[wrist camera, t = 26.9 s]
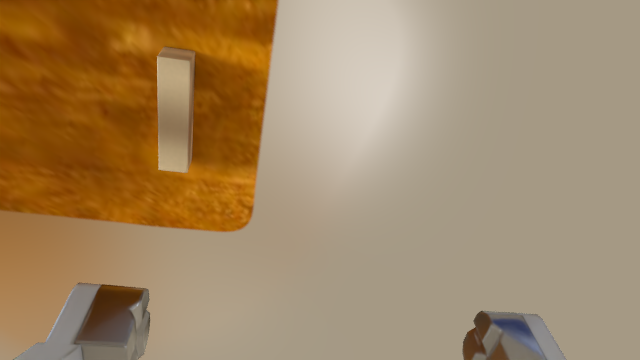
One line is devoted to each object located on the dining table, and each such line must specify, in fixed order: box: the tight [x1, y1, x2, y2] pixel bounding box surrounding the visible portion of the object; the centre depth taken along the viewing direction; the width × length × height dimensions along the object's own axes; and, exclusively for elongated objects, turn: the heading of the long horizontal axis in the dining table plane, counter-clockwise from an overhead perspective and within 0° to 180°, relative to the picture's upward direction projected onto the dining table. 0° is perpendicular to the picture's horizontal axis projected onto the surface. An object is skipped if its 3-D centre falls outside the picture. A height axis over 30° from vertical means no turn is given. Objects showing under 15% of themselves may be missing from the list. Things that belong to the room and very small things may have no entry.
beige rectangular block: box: [157, 47, 195, 173], centre depth 38 cm, size 10×2×2 cm, turn 170°
